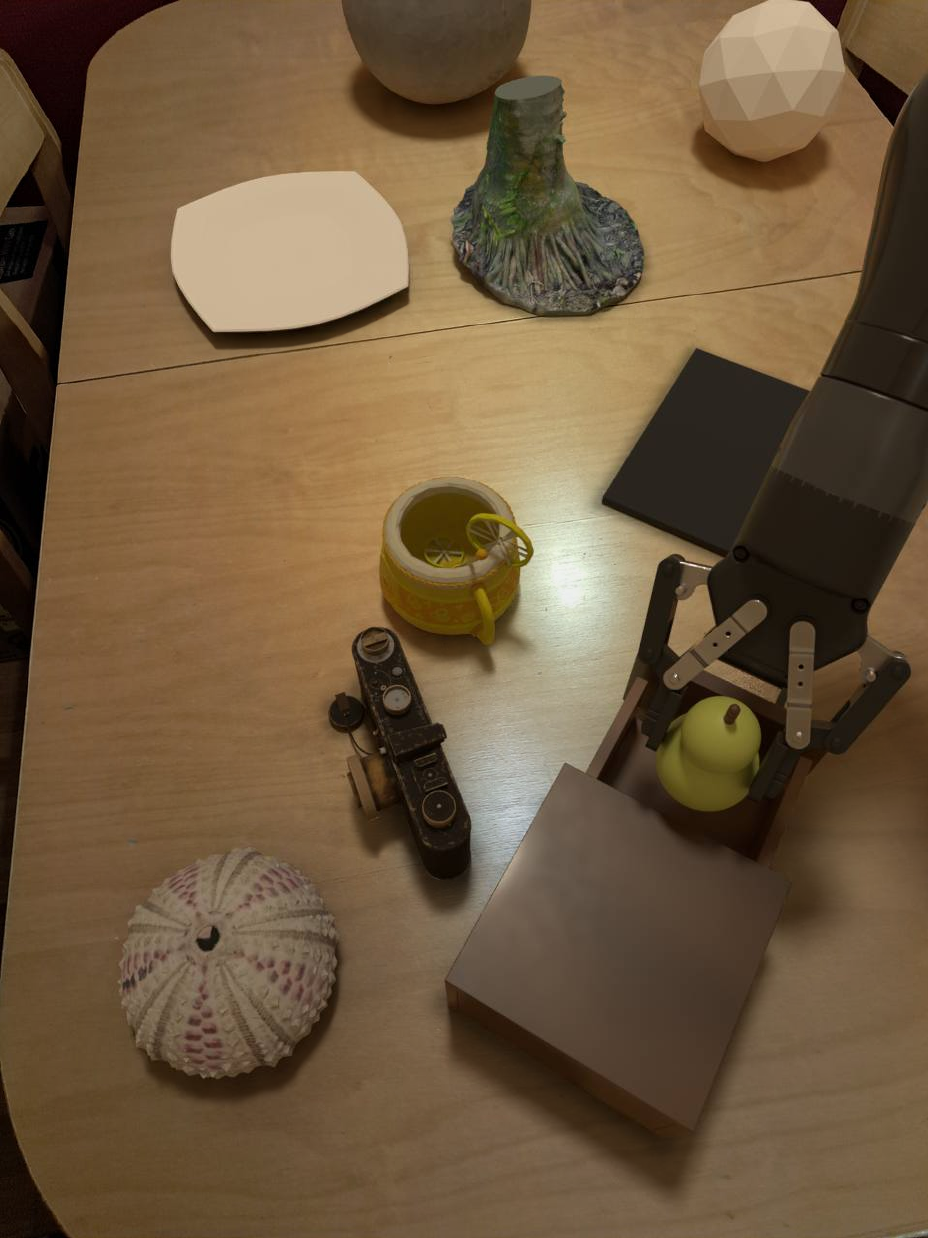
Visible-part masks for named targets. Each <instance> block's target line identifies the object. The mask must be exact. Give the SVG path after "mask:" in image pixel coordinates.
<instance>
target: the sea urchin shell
mask: <svg viewBox="0 0 928 1238" xmlns="http://www.w3.org/2000/svg"><path fill="white" fill-rule="evenodd" d="M336 926H337V920H336V918H335V917H334V916H333V915H332V914H330V913H329V912H328V911H327V910H326V903H325V901H324V899H323V898H322V897H321V896H320V894H319V889H318V888H316V885H315V884H311V882H310V879H309V876H304V875H303V873H300V870H298V869H295V868H293V867H292V864H290V863H288V862H285V861H284V862H283V861H281V860H280V859H279V858H277V857H276V856H273V855H263V854H262V853H261V852H260V851H258V849H256V847H251V846H249V847H247V848H243V849H241V848H239V847H238V846H236V847H234V848H232V849H231V850H230V851H228V852H226V853H224V854H218V853H214V854H210V855H209V856H208V857H206V858H204V859H201V858H199V857H198V858H197V859H196V861H195V862H194V863H193V864H191V865H187V866H186V867H185V868H183V869H179V870H178V871H177V872H176V873H175V874H174V875H173V876H171V877H167V878H165V879H164V881H163V882H162V884H161V885H160V886H159V887H156V888H152V892H151V896H149V898H147V899H146V900H145V901H144V902H143V903H140V904H138V905H135V908H134V915H133V917H131V918H130V919H129V920H128V921H127V931H128V935H127V936H128V937H127V938H126V941H125V942H124V943H123V945H122V950H121V951H122V959H121V960H120V961H119V963H118V967H119V969H120V971H121V973H120V978H119V979H118V980H117V981H116V982H117V983H118V984H119V985H120V986H119V988H118V995H119V996H120V998H121V1002H120V1004H121V1006H120V1009H121V1010H123V1011H124V1012H125V1015H126V1016H125V1017H126V1021H127V1025H128V1026H129V1027H132V1028H133V1030H134V1033H135V1047H136V1048H138V1049H144V1050H145V1052H146V1053H147V1056H148V1057H149V1059H150V1061H164V1062H168V1063H169V1066H170V1067H171V1068H175V1070H176V1071H183V1072H184V1074H186V1075H187V1076H188V1077H190V1076H194V1075H195V1076H196V1075H200V1076H201V1078H202V1079H205V1078H215V1079H217V1080H218V1079H221V1078H222V1077H224V1076H228V1077H230V1078H236V1077H237V1076H238V1075H239V1074H242V1073H245V1074H250V1073H251V1072H252V1071H253V1070H254V1069H255V1068H258V1067H260V1066H268V1067H273V1068H276V1067H277V1064H278V1063H279V1061H280V1060H281V1059H282V1058H285V1057H291V1056H292V1055H293V1051H294V1048H295V1047H296V1045H297V1044H298V1042H299V1041H301V1040H302V1038H304V1037H306V1036H308V1035H309V1034H310V1033H311V1031H312V1028H313V1025H314V1024H315V1023H317V1022H319V1021H320V1014H321V1012H322V1011H323V1010H325V1008H327V1007H328V999H329V998H330V997H331V995H332V987H333V985H334V984H335V982H336V981H337V978H336V975H335V969H336V967H337V966H338V964H337V963H338V960H337V958H336V956H335V955H336V946H337V945H338V943H339V940H340V937H341V935H340V934H339V933H338V931H337V929H336Z"/></svg>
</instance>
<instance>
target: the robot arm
mask: <svg viewBox="0 0 928 1238" xmlns="http://www.w3.org/2000/svg"><path fill="white" fill-rule="evenodd" d="M875 199H876V200H875V205H874V210H873V215H872V220H871V225H870V230H869V234H868V239H867V244H866V247H865V248H866V249H865V252H864V257H863V263H862V267H861V273H860V278H859V282H858V287H857V292H856V294H855V296H854V297H855V298H854V300H853V303H852V304H851V305H852V306H851V307H850V309H849V311H848V313H847V315H846V317H845V320H844V322H843V324H842V326H841V329H840V331H839V332H838V335H837V337H836V339H835V341H834V343H833V345H832V347H831V350H830V352H829V354H828V356H827V358H826V359H825V362H824V364H823V367H822V368H821V371H820V373H819V375H820V376H818V377H817V378H816V380H815V382H814V384H813V386H812V388H811V389H810V390H809V391H810V392H809V394H808V396H807V397H806V399H805V400H804V402H803V403H802V405H801V406H800V408H799V409H798V411H797V413H796V414H795V416H794V418H793V420H792V422H791V424H790V426H789V428H788V430H787V432H786V434H785V436H784V438H783V440H782V442H781V443H780V445H779V447H778V449H777V453H776V455H775V457H774V460H773V462H772V464H771V466H770V468H769V470H768V472H767V474H766V476H765V479H764V481H763V483H762V485H761V487H760V489H759V491H758V493H757V496H756V498H755V500H754V502H753V504H752V506H751V508H750V510H749V512H748V515H747V517H746V519H745V521H744V523H743V525H742V527H741V529H740V531H739V534H738V536H737V538H736V540H735V542H734V544H733V546H732V548H731V550H730V552H729V553H728V555H727V556H724V557H723V558H722V559H721V560H719V561H718V562H717V563H716V564H715V565H713V566H712V565H707V564H703V563H698V562H694V561H689V560H686V558H685V557H684V556H683V555H682V554H680V553H672V554H669V555H668V556H666V557H665V558H663V559H662V560H661V561H660V562H658V565H657V567H656V571H655V576H654V581H653V585H652V590H651V594H650V598H649V602H648V606H647V611H646V615H645V620H644V623H643V628H642V633H641V637H640V642H639V647H638V650H637V653H638V657H639V659H640V661H641V662H642V663H644V664H646V665H649V666H650V667H651V668H652V669H653V670H654V671H655V672H656V673H657V675H658V677H659V681H660V684H659V688H658V690H657V692H656V694H655V696H654V698H653V700H652V702H651V705H650V707H649V709H648V711H646V713H645V715H644V717H643V720H642V721H643V722H642V724H641V733H642V734H644V735H646V736H648V737H649V738H648V740H647V743H646V745H645V747H647V748H649V749H651V750H653V751H655V752H656V751H657V750H658V748H659V746H660V745H661V743H662V741H663V739H664V737H665V735H666V733H667V730H668V728H669V726H670V724H671V722H672V720H673V718H674V716H675V714H676V712H677V710H678V708H679V706H680V703H681V701H682V699H683V697H684V695H685V693H686V691H687V689H688V687H687V686H685V685H686V684H687V683H688V682H689V681H690V680H691V679H693V678H694V677H695V676H696V675H697V674H699V673H700V672H701V671H702V670H705V669H706V668H708V667H709V666H711V665H712V664H713V663H714V662H715V661H717V658H719V657H720V656H721V655H722V654H723V653H724V652H726V651H728V652H729V653H728V655H729V656H731V657H734V658H736V659H738V660H740V661H744V662H749V663H755V664H758V665H759V666H760V667H761V668H763V669H764V670H765V671H766V672H768V673H769V674H770V675H773V676H775V677H777V678H779V679H781V680H784V678H787V679H788V690H787V701H786V709H787V719H786V726H785V728H784V730H783V732H781V731H778V733H777V735H776V737H775V739H774V740H773V742H772V744H771V746H770V748H769V750H768V752H767V754H766V756H765V758H764V760H763V762H762V764H761V765H760V767H759V769H758V771H757V773H756V775H755V777H754V779H753V781H752V783H751V785H750V787H749V790H748V794H747V798H748V799H750V800H752V801H754V802H756V803H758V804H759V803H760V802H761V800H762V798H763V796H764V795H765V796H767V797H769V798H771V799H773V798H774V797H776V796H777V795H778V794H779V793H780V792H781V790H782V788H783V786H784V784H785V783H786V781H787V779H788V777H789V775H790V773H791V771H792V769H793V768H794V766H795V764H796V762H797V760H798V758H799V756H800V755H801V754H802V753H803V752H804V751H806V750H808V749H821V750H827V751H828V753H830V754H831V755H835V756H840V755H843V754H845V753H846V752H847V751H848V750H849V749H850V748H851V747H852V745H853V744H854V743H855V742H856V741H857V740H858V738H859V737H860V736H861V735H862V734H863V733H864V731H865V730H866V729H867V728H868V727H869V726H870V725H871V723H872V722H873V721H874V720H875V719H876V718H877V716H879V714H880V713H881V712H882V711H883V710H884V708H885V707H886V706H887V705H888V704H889V703H890V702H891V701H892V699H893V698H895V696H896V695H897V693H898V692H899V691H900V690H901V689H902V688H903V687H904V685H905V684H906V683H907V682H908V681H909V680H910V678H911V676H912V668H911V664H910V662H909V659H908V657H907V656H906V655H905V654H904V653H903V652H901V651H898V650H891V649H890V648H889V647H887V646H885V645H884V644H882V643H881V642H879V641H878V640H877V639H875V638H873V637H872V636H871V635H870V634H869V627H868V626H869V625H868V622H869V621H868V620H869V615H870V612H871V610H872V607H873V605H874V603H875V601H876V600H877V598H878V595H879V594H880V592H881V590H882V588H883V586H884V584H885V583H886V581H887V579H888V577H889V575H890V573H891V571H892V569H893V568H894V565H895V563H896V562H897V560H898V558H899V556H900V554H901V552H902V550H903V548H904V547H905V545H906V543H907V541H908V539H909V538H910V535H911V533H912V531H913V530H914V528H915V526H916V523H917V522H918V520H919V518H920V516H921V515H922V513H923V511H924V509H925V508H926V506H927V504H928V69H927V70H926V72H925V73H924V74H923V75H922V77H921V78H920V79H919V81H918V82H917V83H916V85H915V86H914V87H913V88H912V90H911V91H910V94H909V95H908V97H907V99H906V100H905V101H904V104H903V106H902V108H901V110H900V111H899V113H898V116H897V118H896V119H895V123H894V125H893V128H892V131H891V134H890V136H889V140H888V143H887V147H886V151H885V154H884V159H883V162H882V167H881V172H880V177H879V183H878V189H877V194H876V198H875ZM702 585H706V587H707V592H708V598H709V601H710V606H711V611H712V616H713V622H714V625H713V626H712V627H711V628H710V629H708V630H707V631H706V632H704V633H705V634H704V633H703V634H702V636H700V638H698V639H697V641H696V642H694V643H693V644H692V645H691V646H690V647H689V648H688V649H686V650H685V651H684V652H683V653H682V654H681V655H678V653H676V652H675V651H674V650H673V649H672V648H671V647H670V645H669V643H670V642H669V641H670V638H671V633H672V629H673V624H674V620H675V616H676V612H677V607H678V604H679V601H686V600H687V599H689V598H691V596H692V595H693V594H694V592H695V590H696V588H698V587H699V586H702ZM854 653H858V654H859V656H860V662H859V664H858V665H857V670H856V671H857V677H858V680H859V681H860V682H861V683H860V684H859V685H858V686H857V688H856V689H855V690H854V691H853V692H852V693H851V694H850V695H849V697H848V698H847V700H845V702H843V704H842V705H841V706H840V708H839V709H838V710H837V711H836V713H835V714H834V715H833V716H832V717H831V718H830V719H829V720H823V719H817V718H812V715H813V697H814V696H813V695H814V679H815V678H814V675H815V672H816V671H819V670H821V669H822V668H825V667H826V666H829V665H831V664H833V663H835V662H837V661H839V660H842V659H843V658H845V657H847V656H849V655H852V654H854Z"/></svg>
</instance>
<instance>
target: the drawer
mask: <svg viewBox="0 0 928 1238" xmlns="http://www.w3.org/2000/svg"><path fill="white" fill-rule="evenodd" d="M705 633H706V632H704V633H703V635H704V634H705ZM728 653H729V652H728V651H726V652H724V653H723V654H722V655H721V656H720V657H719V658H717V659H716V661H719V662H721V663H723V664H724V665H727V666H729V667H731V668H734V669H736V670H738V671H740V672H742V673H745V674H746V675H749V676H751V677H752V678H755V679H757V680H760V681H761V682H764V683H765V684H768V685H770V686H773V687H774V688H776V689H778V690H779V692H778V695H777V696H776V699H775V701H774V702H772V701H770V700H768V699H766V698H764V697H762V696H760V695H757V694H755V693H754V692H752V691H749V690H747V689H745V688H743V687H740V686H738V685H737V684H734V683H733V682H730V681H728V680H726V679H724V678H722V677H719V676H717V675H715V674H713V673H711V672H709V671H708V670H705V669H703V670H702V671H701V672H700V673H699V674H697V675H696V676H695V677H694V678H693V679H691V680H690V681H689V682H688V683H687V684H686V685H685V686H687V687H688V689H687V691H686V693H685V695H684V697H683V699H682V701H681V703H680V706H679V708H678V710H677V712H676V714H675V716H674V718H673V720H672V722H673V721H674V720H675V719H677V718H678V717H680V716H682V715H684V714H686V713H688V711H689V710H690V709H691V708H692V707H693V706H694V705H695V704H697V703H698V702H700V701H702V700H704V699H706V698H709V697H715V696H724V697H730V698H733V699H736V700H738V701H740V702H742V703H743V704H745V705H746V706H747V707H748V708H749V709H750V710H751V711H752V712H753V714H754V715H755V716H756V718H757V720H758V723H759V726H760V730H761V743H760V747H759V750H758V754H759V767H760V765H761V764H762V762H763V760H764V758H765V756H766V754H767V752H768V750H769V748H770V746H771V744H772V742H773V740H774V739H775V737H776V735H777V733H778V731H781V732H783V730H784V728H785V726H786V719H787V708H786V707H785V705H786V704H787V690H788V679H787V678H784V680H781V679H779V678H777V677H775V676H773V675H770V674H769V673H768V672H766V671H765V670H764V669H763V668H761V667H760V666H759V665H758V664H755V663H749V662H744V661H740V660H738V659H736V658H734V657H731V656H729V655H728ZM659 684H660V681H659V677H658V675H657V673H656V672H655V671H654V670H653V669H652V668H651V667H650V666H649V665H646V664H644V663H642V662H641V661H640V659H639V657H638V652H637V653H636V656H635V659H634V662H633V665H632V668H631V671H630V674H629V677H628V680H627V684H626V687H625V690H624V693H623V696H622V701H623V702H622V704H621V705H620V709H619V710H618V712H617V714H616V715H615V717H614V718H613V721H612V723H611V725H610V726H609V728H608V730H607V731H606V734H605V736H604V738H603V739H602V741H601V743H600V745H599V747H598V749H597V751H596V753H594V754H595V755H594V756H593V758H592V760H591V762H590V764H589V766H588V768H586V769H587V770H586V771H585V773H586V774H588V775H590V776H592V777H594V778H596V779H598V780H600V781H602V782H604V783H606V784H607V785H609V786H611V787H613V788H615V789H617V790H619V791H621V792H623V793H625V794H627V795H629V796H630V797H632V798H634V799H636V800H638V801H640V802H642V803H644V804H646V805H648V806H650V807H652V808H654V809H655V810H657V811H659V812H661V813H663V814H665V815H667V816H669V817H671V818H673V819H675V820H677V821H678V822H680V823H682V824H684V825H686V826H688V827H690V828H692V829H694V830H696V831H698V832H700V833H701V834H703V835H705V836H707V837H709V838H711V839H713V840H715V841H717V842H719V843H721V844H723V845H725V846H726V847H728V848H730V849H732V850H734V851H736V852H738V853H740V854H742V855H744V856H746V857H748V858H749V859H751V860H753V861H755V862H757V863H759V864H761V865H763V866H765V867H767V868H769V869H770V867H771V864H772V862H773V860H774V857H775V855H776V853H777V850H778V847H779V846H780V842H781V840H782V838H783V836H784V833H785V830H786V828H787V826H788V823H789V821H790V818H791V816H792V815H793V811H794V808H795V806H796V804H797V802H798V799H799V797H800V794H801V791H802V789H803V786H804V785H805V782H806V780H807V778H808V776H809V775H810V774H811V773H812V772H813V771H814V769H815V768H816V767H817V766H818V765H819V764H820V762H822V760H823V759H824V758H825V756H826V755H827V754H828V753H829V752H828V751H827V750H821V749H808V750H806V751H804V752H803V753H802V754H801V755H800V756H799V758H798V760H797V762H796V764H795V766H794V768H793V769H792V771H791V773H790V775H789V777H788V779H787V781H786V783H785V784H784V786H783V788H782V790H781V792H780V793H779V794H778V795H777V796H776V797H774V798H773V799H771V798H769V797H767V796H765V795H764V796H763V798H762V800H761V802H760V803H759V804H758V803H756V802H754V801H752V800H750V799H748V798H747V795H746V796H745V797H744V798H743V799H742V800H741V801H740V802H738V803H737V804H735V805H733V806H731V807H729V808H727V809H724V810H720V811H711V812H709V811H699V810H695V809H691V808H689V807H686V806H684V805H683V804H681V803H679V802H678V801H676V800H675V799H674V798H673V797H672V796H671V795H670V794H669V793H668V792H667V791H666V789H665V788H664V786H663V785H662V783H661V781H660V779H659V777H658V773H657V770H656V763H655V754H656V752H655V751H653V750H651V749H649V748H647V747H645V745H646V743H647V740H648V738H649V737H648V736H646V735H644V734H642V733H641V724H642V722H643V720H642V719H640V718H638V717H637V714H638V713H639V709H641V710H643V711H644V712H647V711H648V709H649V707H650V705H651V702H652V700H653V698H654V696H655V694H656V692H657V690H658V688H659ZM672 722H671V723H672Z"/></svg>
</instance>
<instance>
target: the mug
mask: <svg viewBox="0 0 928 1238" xmlns="http://www.w3.org/2000/svg"><path fill="white" fill-rule="evenodd" d="M381 531H382V532H381V537H382V545H381V551H380V554H379V569H378V572H379V573H378V574H379V576H378V577H379V585H380V590H381V592H382V593H381V594H382V595H383V597H384V600H386V602H387V603H388V604H389V605H390V606H391V607H392V609H393V610H394V611H395V612H396V613H397V614H398V615H399V616H400V617H401V618H403V619H404V620H405V621H406V622H408V623H410V624H411V626H414V627H416V628H418V629H420V630H422V631H425V632H428V633H430V634H431V633H432V634H438V635H446V636H458V635H470V636H472V637H475V638H476V637H477V638H478V639H479V641H480V642H481V643H482V644H483V645H485V646H487V645H492V644H493V643H494V641H495V635H496V628H495V621H497V620H498V619H499V618H501V616H502V615H503V614H504V613H505V612H506V610H507V609H508V608H509V607H510V606H511V604H512V602H513V600H514V598H515V597H516V595H517V592H518V588H519V585H520V578H521V568H522V567H525V566H527V565H528V564H529V563H530V562H531V560H532V557H533V556H534V551H535V550H534V547H533V542H532V541H531V539H530V538H529V537H528V535H527V534H526V532H525V531H524V530H523V529H522V528H521V527H519V525H517V522H516V518H515V516H514V512H513V511H512V508H511V506H510V505H509V503H508V502H507V500H505V498H504V497H503V496H501V495H500V493H498V492H497V491H495V490H494V489H493V488H491V487H490V486H488V485H486V484H484V483H483V482H480V481H477V480H473V479H468V478H465V477H457V476H440V477H436V478H432V479H428V480H425V481H424V480H423V481H422V482H419V483H417V484H413V485H412V486H410V487H408V488H406V490H404V491H403V492H402V493H400V495H398V497H397V498H396V499H394V501H393V502H392V503H391V504H390V506H389V507H388V509H387V511H386V513H385V515H384V519H383V522H382V529H381ZM518 538H519V539H520V540H521V541H522V543H523V544H524V546H525V547H523V546H520V545H519V543H518ZM520 550H521V551H523V552H524V553H523V552H521V551H520ZM520 557H522V558H524V559H521V558H520Z"/></svg>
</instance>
